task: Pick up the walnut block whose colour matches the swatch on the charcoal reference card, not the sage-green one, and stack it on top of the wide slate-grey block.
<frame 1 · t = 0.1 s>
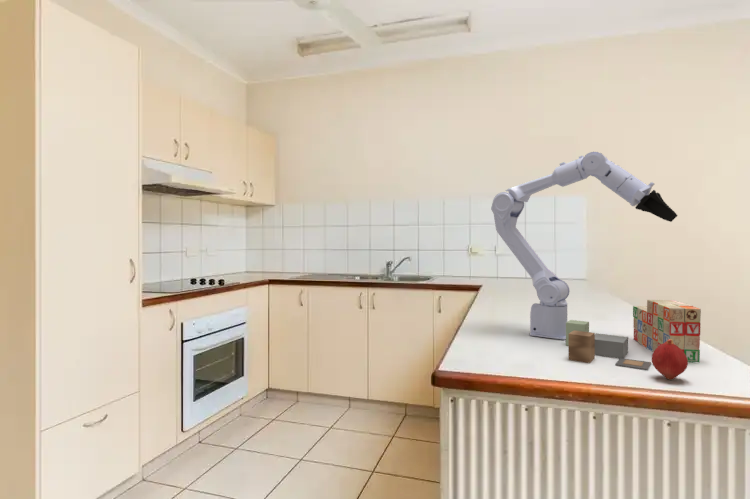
hand: (673, 218, 104), 32 cm above the counter, tool tilted 50°, fingers open, 7 cm apart
reference card: (633, 364, 95), on the counter
sage block: (577, 345, 112), on the counter
onion: (669, 380, 85), on the counter
stack of blocks: (663, 351, 106), on the counter
walnut block: (581, 359, 99), on the counter
slate base block: (609, 354, 104), on the counter
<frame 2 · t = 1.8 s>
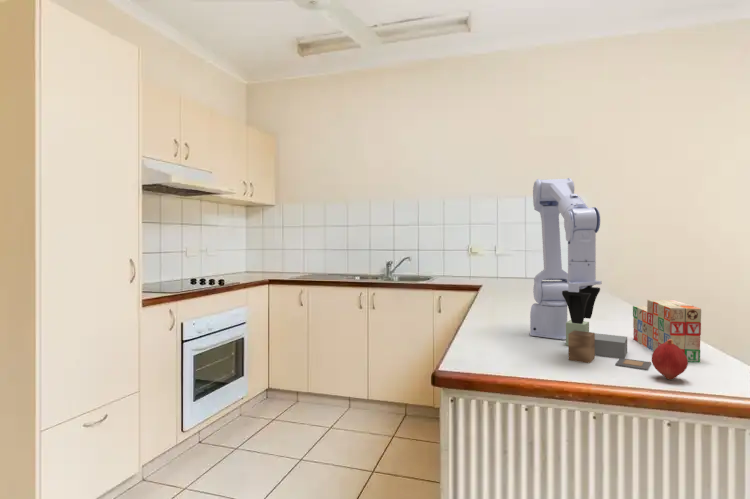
hand: (581, 320, 99), 9 cm above the counter, tool pointing down, fingers open, 7 cm apart
nothing on the counter moved.
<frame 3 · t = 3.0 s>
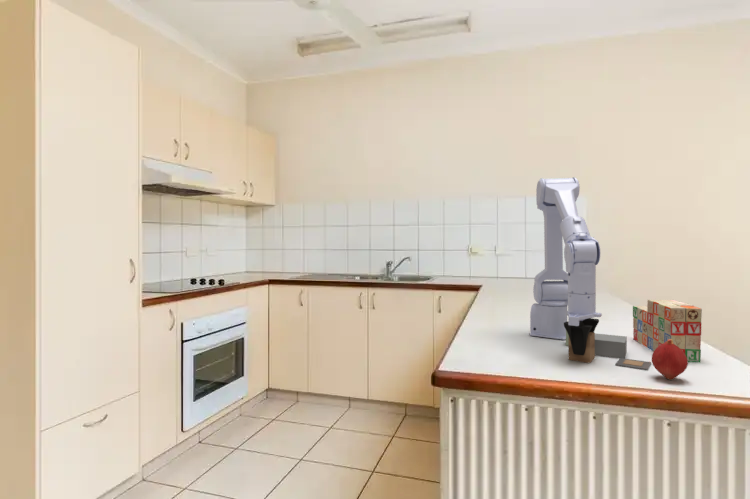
hand: (581, 352, 99), 2 cm above the counter, tool pointing down, fingers closed on walnut block, 4 cm apart
walnut block: (581, 359, 99), on the counter, touching gripper
everything else where it was.
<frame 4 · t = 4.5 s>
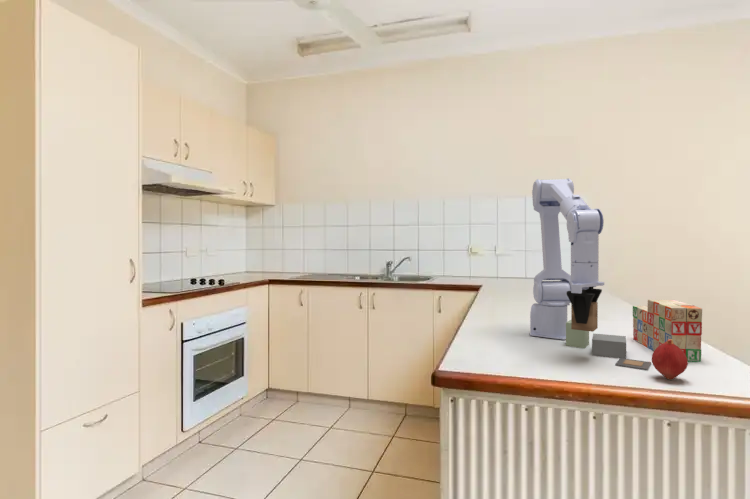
hand: (584, 321, 100), 9 cm above the counter, tool pointing down, fingers closed on walnut block, 4 cm apart
walnut block: (584, 328, 100), point 7 cm above the counter, touching gripper
everything else where it was.
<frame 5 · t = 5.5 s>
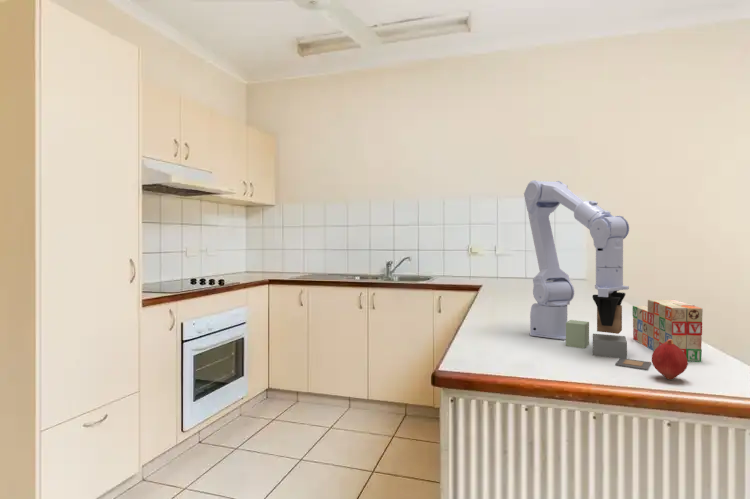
hand: (609, 323, 104), 7 cm above the counter, tool pointing down, fingers closed on walnut block, 4 cm apart
walnut block: (609, 330, 104), point 5 cm above the counter, touching gripper
everything else where it was.
when the fingers open (7 cm above the counter, at t = 6.0 s): walnut block drops 1 cm, resting on slate base block.
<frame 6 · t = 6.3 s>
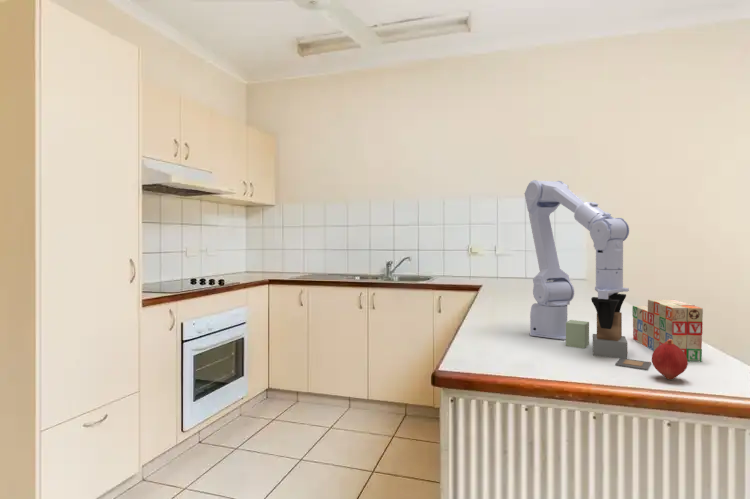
hand: (609, 325, 104), 7 cm above the counter, tool pointing down, fingers open, 7 cm apart
walnut block: (609, 337, 104), point 4 cm above the counter, touching slate base block
slate base block: (609, 354, 104), on the counter, touching walnut block
everything else where it was.
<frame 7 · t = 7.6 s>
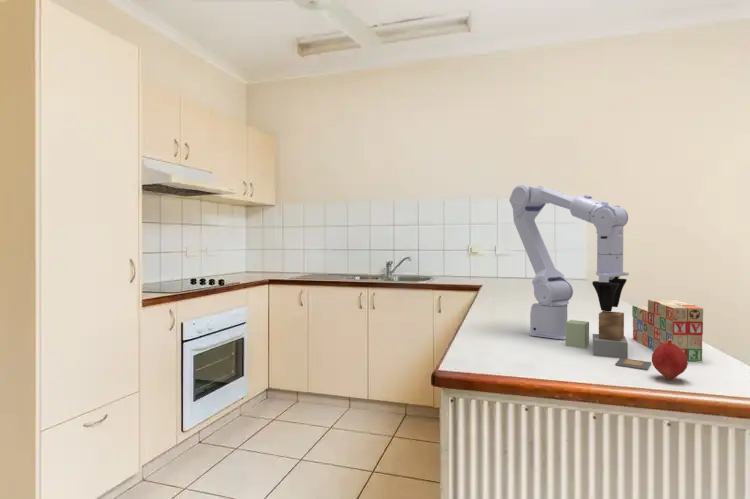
hand: (609, 308, 108), 10 cm above the counter, tool pointing down, fingers open, 7 cm apart
nothing on the counter moved.
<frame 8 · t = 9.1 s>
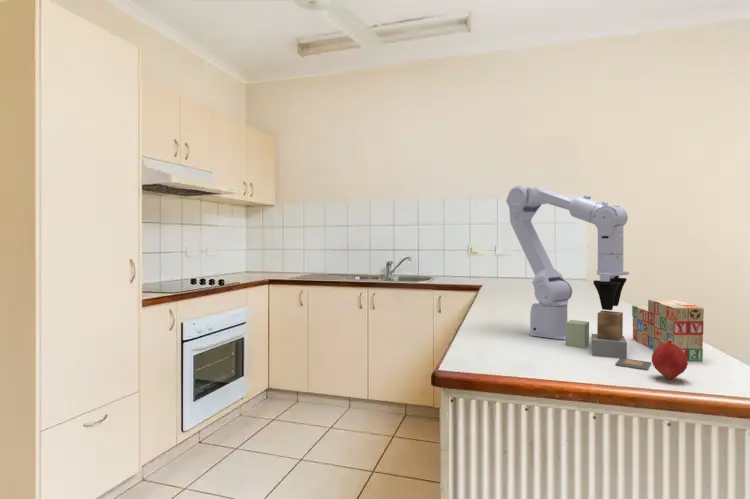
hand: (610, 307, 110), 10 cm above the counter, tool pointing down, fingers open, 7 cm apart
at the end: walnut block 0.4 cm off-centre on the slate base block, point 4.0 cm above the slate base block's base; walnut block tilted 0°; slate base block moved 0.4 cm from its start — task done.
